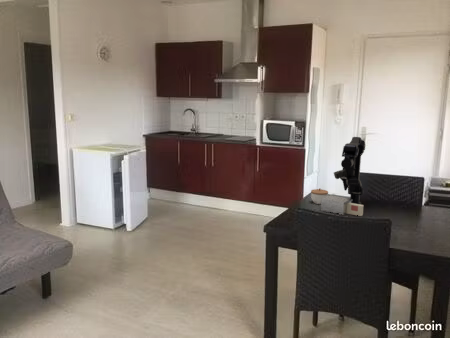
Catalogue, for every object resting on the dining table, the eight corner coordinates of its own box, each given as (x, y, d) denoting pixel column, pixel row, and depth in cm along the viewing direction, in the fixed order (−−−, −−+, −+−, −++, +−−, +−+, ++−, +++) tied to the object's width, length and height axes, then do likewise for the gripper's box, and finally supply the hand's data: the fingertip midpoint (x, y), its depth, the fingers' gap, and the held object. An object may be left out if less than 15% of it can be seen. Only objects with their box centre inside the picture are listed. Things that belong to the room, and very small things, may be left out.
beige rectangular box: (332, 208, 249) (332, 199, 248) (362, 215, 237) (363, 205, 236) (330, 210, 247) (330, 200, 246) (360, 216, 235) (361, 206, 234)
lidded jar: (323, 206, 256) (324, 191, 255) (307, 203, 263) (308, 188, 261) (330, 202, 265) (331, 188, 263) (314, 199, 271) (315, 185, 269)
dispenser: (328, 206, 255) (329, 195, 253) (351, 211, 246) (352, 199, 244) (320, 210, 246) (321, 198, 245) (344, 215, 237) (345, 202, 236)
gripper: (331, 163, 243) (329, 188, 246) (339, 169, 225) (338, 196, 228) (350, 163, 243) (348, 188, 246) (360, 169, 225) (358, 196, 228)
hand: (347, 192), depth 237 cm, fingers open, 9 cm apart
